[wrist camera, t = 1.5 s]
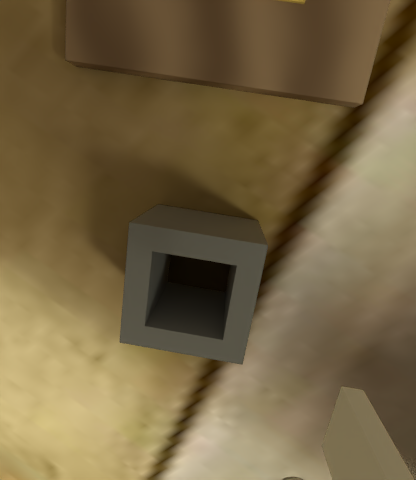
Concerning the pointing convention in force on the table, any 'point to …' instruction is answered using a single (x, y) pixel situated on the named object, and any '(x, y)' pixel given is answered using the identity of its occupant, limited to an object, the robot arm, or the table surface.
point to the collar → (189, 297)
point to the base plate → (234, 43)
